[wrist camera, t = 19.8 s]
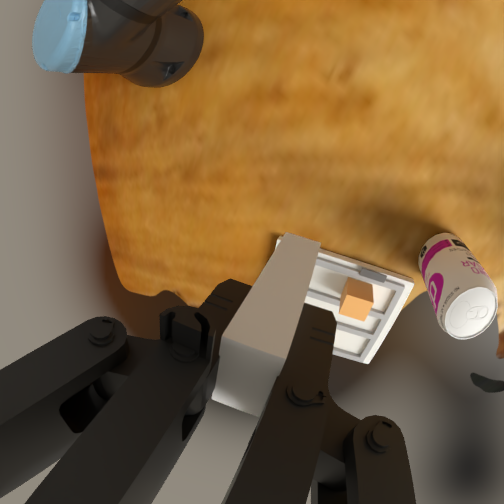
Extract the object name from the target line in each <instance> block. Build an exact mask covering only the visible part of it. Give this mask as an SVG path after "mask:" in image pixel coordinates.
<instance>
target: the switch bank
mask: <svg viewBox="0 0 504 504" xmlns="http://www.w3.org/2000/svg"><path fill="white" fill-rule="evenodd" d="M282 238H283V237H282V236H279V238H278V239H277V244H276V248H277V246H278V244H279V243H280V241H281V239H282ZM276 248H275V249H276ZM348 277H350V278H353V279H356V280H359V281H362V282H365V283H368V284H372V285H373V298H374V304H373V306H372V308H371V310H370V312H369V314H368V316H367V318H366V320H365V321H360V320H357V319H354V318H351V317H347V316H344V315H341V314H339V306H340V297H341V293H342V291H343V289H344V286H345V284H346V281H347V279H348ZM413 286H414V281H413V279H412V278H409V277H406V276H403V275H400V274H397V273H394V272H391V271H388V270H385V269H382V268H379V267H376V266H373V265H370V264H367V263H364V262H361V261H358V260H355V259H352V258H349V257H346V256H342V255H339V254H336V253H333V252H330V251H327V250H324V249H321V248H320V249H319V252H318V256H317V260H316V263H315V267H314V271H313V274H312V278H311V281H310V285H309V288H308V291H307V295H306V298H305V302H304V303H308V304H311V305H314V306H317V307H320V308H323V309H326V310H329V311H332V312H333V314H334V317H335V319H336V322H337V327H336V334H335V342H334V348H333V354H334V355H337V356H341V357H345V358H348V359H351V360H355V361H359V362H362V363H367V364H369V362H370V361H371V359H372V358H373V356H374V355H375V353H376V352H377V350H378V348H379V347H380V345H381V343H382V342H383V340H384V339H385V337H386V335H387V333H388V332H389V330H390V328H391V327H392V325H393V323H394V321H395V320H396V318H397V316H398V314H399V312H400V311H401V309H402V307H403V305H404V303H405V301H406V299H407V297H408V296H409V294H410V292H411V290H412V288H413Z"/></svg>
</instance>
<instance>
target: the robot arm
mask: <svg viewBox="0 0 504 504" xmlns="http://www.w3.org/2000/svg"><path fill="white" fill-rule="evenodd" d="M180 1H182V0H45V1H44V2H43V4H42V6H41V8H40V10H39V13H38V15H37V19H36V22H35V26H34V31H33V39H32V47H33V54H34V58H35V60H36V62H37V63H38V65H39V66H40V67H41V68H42V69H44V70H46V71H56V72H63V73H116V74H120V75H122V76H123V77H125V78H127V79H128V80H130V81H131V82H133V83H135V84H137V85H140V86H144V87H164V86H167V85H170V84H172V83H174V82H176V81H178V80H179V79H180V78H182V77H183V76H184V75H185V74H186V73H187V72H188V71H189V70H190V69H191V68H192V67H193V65H194V64H195V62H196V60H197V59H198V57H199V54H200V52H201V49H202V45H203V39H204V34H203V27H202V24H201V22H200V20H199V18H198V17H197V16H196V15H195V14H194V13H193V12H192V11H190V10H188V9H187V8H185V7H183V6H180V5H177V4H178V3H179V2H180ZM320 245H321V243H320V242H317V241H313V240H310V239H307V238H304V237H301V236H297V235H294V234H291V233H288V232H286V233H285V234H284V236H283V238H282V239H281V241H280V243H279V244H278V246H277V248H276V249H275V251H274V253H273V254H272V256H271V257H270V259H269V261H268V262H267V264H266V266H265V267H264V269H263V270H262V272H261V274H260V275H259V277H258V279H257V280H256V282H255V283H254V285H253V286H250V285H247V284H244V283H241V282H239V281H236V280H233V279H228V280H226V281H224V282H222V283H220V284H218V285H217V286H216V288H215V289H214V290H213V291H212V293H211V295H209V296H208V297H207V299H206V300H205V302H203V304H202V305H201V306H200V307H199V308H195V307H191V306H176V307H172V308H168V309H166V310H165V311H163V312H162V313H160V340H151V339H144V338H139V337H134V336H129V335H127V332H126V328H125V327H124V325H123V324H122V323H121V322H120V321H118V320H116V319H115V318H110V317H106V316H104V317H95V318H92V319H90V320H87V321H85V322H84V323H82V324H80V325H78V326H76V327H75V328H73V329H71V330H69V331H68V332H66V333H64V334H62V335H61V336H59V337H57V338H55V339H53V340H52V341H50V342H48V343H46V344H45V345H43V346H41V347H39V348H37V349H36V350H34V351H32V352H30V353H29V354H27V355H25V356H24V357H22V358H20V359H18V360H17V361H15V362H13V363H11V364H10V365H8V366H6V367H5V368H3V369H1V370H0V498H1V497H3V496H4V495H6V494H8V493H9V492H11V491H12V490H14V489H16V488H17V487H19V486H20V485H22V484H23V483H25V482H27V481H28V480H29V479H31V478H33V477H34V476H36V475H37V474H38V473H40V472H42V471H43V470H44V469H46V468H47V467H49V466H50V465H52V464H53V463H55V462H56V461H58V460H59V459H60V458H61V459H60V460H59V461H58V463H57V464H56V465H55V467H54V468H53V469H52V470H51V471H50V473H49V474H48V475H47V476H46V477H45V479H44V480H43V481H42V482H41V484H40V485H39V486H38V487H37V489H36V490H35V491H34V492H33V494H32V495H31V496H30V497H29V499H28V500H27V501H26V503H25V504H151V503H152V502H153V500H154V498H155V497H156V495H157V494H158V492H159V490H160V489H161V487H162V485H163V484H164V481H165V480H166V479H167V477H168V475H169V474H170V472H171V470H172V469H173V467H174V465H175V464H176V462H177V460H178V459H179V457H180V455H181V453H182V452H183V450H184V448H185V446H186V445H187V443H188V441H189V440H190V438H191V436H192V434H193V432H194V431H195V429H196V427H197V425H198V424H199V422H200V420H201V418H202V417H203V415H204V412H205V408H206V403H207V401H208V400H209V398H210V396H211V394H212V392H213V395H212V399H213V400H215V401H218V402H220V403H223V404H225V405H228V406H230V407H233V408H236V409H238V410H241V411H243V412H246V413H249V414H252V415H255V416H258V417H260V419H259V421H258V423H257V426H256V428H255V430H254V432H253V434H252V437H251V439H250V441H249V443H248V447H247V449H246V451H245V453H244V456H243V458H242V460H241V462H240V465H239V467H238V469H237V472H236V474H235V476H234V478H233V480H232V482H231V484H230V487H229V489H228V491H227V493H226V495H225V497H224V500H223V501H222V503H221V504H306V501H307V497H308V494H309V490H310V487H311V504H416V500H415V494H414V487H413V482H412V475H411V470H410V465H409V460H408V455H407V450H406V445H405V441H404V437H403V434H402V432H401V430H400V428H399V427H398V426H397V425H396V424H395V423H394V422H393V421H392V420H390V419H388V418H386V417H383V416H377V415H374V416H368V417H365V418H364V419H362V420H359V419H358V418H356V417H354V416H352V415H351V414H349V413H347V412H345V411H344V410H343V409H341V408H340V407H338V405H337V404H336V403H335V402H334V401H333V399H332V397H331V396H330V394H329V390H328V379H329V373H330V367H331V361H332V355H333V348H334V342H335V334H336V327H337V322H336V319H335V317H334V314H333V312H332V311H329V310H326V309H323V308H320V307H317V306H314V305H311V304H308V303H304V302H305V298H306V295H307V291H308V288H309V285H310V281H311V278H312V274H313V271H314V267H315V263H316V260H317V256H318V252H319V249H320Z"/></svg>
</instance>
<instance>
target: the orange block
mask: <svg viewBox="0 0 504 504" xmlns="http://www.w3.org/2000/svg"><path fill="white" fill-rule="evenodd" d="M373 304H374V298H373V285H372V284H368V283H365V282H362V281H359V280H356V279H353V278H350V277H348V279H347V281H346V284H345V286H344V289H343V291H342V293H341V297H340V306H339V314H341V315H344V316H347V317H351V318H354V319H357V320H360V321H365V320H366V318H367V316H368V314H369V312H370V310H371V308H372V306H373Z"/></svg>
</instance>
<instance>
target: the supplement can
mask: <svg viewBox="0 0 504 504" xmlns="http://www.w3.org/2000/svg"><path fill="white" fill-rule="evenodd" d="M418 265H419V268H420V271H421V274H422V277H423V279H424V282H425V285H426V288H427V290H428V293H429V296H430V299H431V301H432V304H433V307H434V310H435V313H436V317H437V319H438V323H439V325H440V326H441V327H442V329H443V330H444V331H445V332H447V333H449V334H450V336H452V337H455V338H456V339H469V338H472V337H475V336H477V335H479V334H480V333H482V332H483V331H484V330H485V329H486V328H487V327H488V326H489V325H490V324H491V322H492V321H493V319H494V317H495V315H496V312H497V308H498V306H497V289H496V287H495V285H494V283H493V282H492V280H491V279H490V277H489V276H488V274H487V273H486V272H485V270H484V269H483V267H482V266H481V265H480V263H479V262H478V261H477V259H476V258H475V257H474V256H473V254H472V253H471V252H470V250H469V249H468V248H467V247H466V245H465V244H464V243H463V242H462V240H461V239H460V238H459V237H457V236H455V235H454V234H450V233H441V234H437V235H435V236H433V237H432V238H430V239H429V240H428V241H427V242H426V243H425V244H424V245H423V247H422V249H421V251H420V254H419V262H418Z"/></svg>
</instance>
